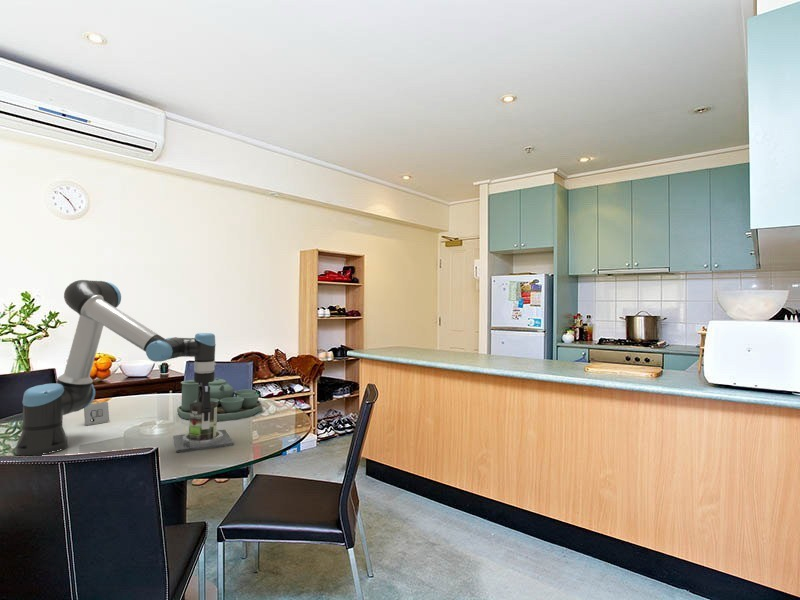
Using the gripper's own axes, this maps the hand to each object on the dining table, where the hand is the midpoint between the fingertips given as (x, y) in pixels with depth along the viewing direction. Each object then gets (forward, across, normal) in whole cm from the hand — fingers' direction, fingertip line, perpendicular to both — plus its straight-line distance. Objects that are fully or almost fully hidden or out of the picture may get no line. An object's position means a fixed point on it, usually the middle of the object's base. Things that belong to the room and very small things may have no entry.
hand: (203, 424), depth 178 cm
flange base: (+7, 0, 0) cm, 7 cm away
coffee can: (+6, 0, 0) cm, 6 cm away
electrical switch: (+7, +50, +39) cm, 64 cm away
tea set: (+7, +48, -14) cm, 51 cm away
